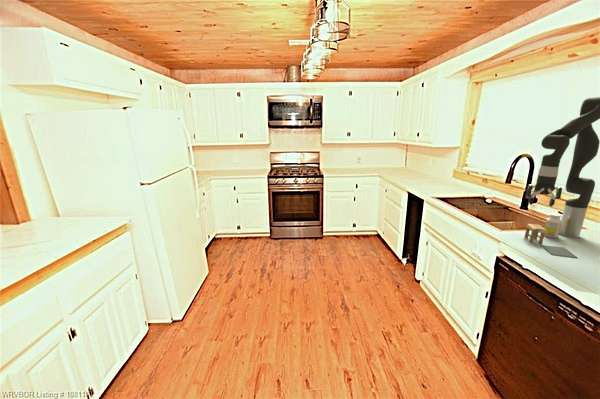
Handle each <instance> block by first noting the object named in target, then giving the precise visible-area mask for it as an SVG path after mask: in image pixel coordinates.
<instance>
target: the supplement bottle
mask: <svg viewBox="0 0 600 399" xmlns="http://www.w3.org/2000/svg"><path fill="white" fill-rule="evenodd" d="M561 218H562V215H561V214H558V213H551V212H550V213H549V217H547V218H546V219H545V224H544V227H543V228H544V229H545V235H544V237H547V238H552V239H556V238H559V235H560V234H559V231H560V227H561V223H562V221H561Z"/></svg>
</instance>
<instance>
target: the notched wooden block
mask: <svg viewBox="0 0 600 399" xmlns="http://www.w3.org/2000/svg"><path fill="white" fill-rule="evenodd" d="M544 228H545V227H543V226H542V225H541V224H534V223H527V224H526V228H525V233H524V239H528V238H529V243H532V244H533V243H534V240H538V239H539V240H538V244H541V245H543V243H544V238H545V236H544V235H545V229H544ZM530 232H531V233H530ZM539 233H540V235H539Z"/></svg>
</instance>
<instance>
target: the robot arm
mask: <svg viewBox="0 0 600 399" xmlns="http://www.w3.org/2000/svg"><path fill="white" fill-rule="evenodd" d="M599 120H600V96H596V97H595V96H593V97H587V98H585V99H584V100H582V103H581V105H580V110H579V116H577V117H575V118H573V119H570V120H569V121H567V122H565V124H564V125H562V126H561V127H560V128H559V129H556V130H554V131H552V132H550V133H548V134H547V135H545V136H544V137H543V139H542V140H541V144H540V145H541V147H542V148H543V149H546V150H554V151H553V152H552V153H547V154H544V155H543V156H542V158H541V165H540V167H539V170H538V173H537V177H536V178H537V179H536V183H535V185H532V184H528V185H527V188H526V192H525V196H527V197H528V198H529V199H528V204H529V205H531V206H533V204H534V199H535V197H536V196H538V195H547V196H549V197H550V199H549V202H548V203H549V204H548V206H549V207H553V206H554V205H555V202H556V200H560V199H561V197H562V193H563V192H562V191H563V188H562V187H561V186H556V182H557V178H558V175H559V168H560V164H561V159H562V158H563V156H564V154H565V152H566V150H567V149H568V148H569V145H570V142H571V141H570V140H571V139H573V138H574V137H576V141H575V144H574V149H573V156H572V162H571V166H570V169H569V172H568V176H567V179H566V182H565V191H566V192H567V193H569V194H575V195H579V196H578V197H577V198H570V199H566V200H565V203H564V207H563V212H562V215H561V217H560V220H561V221H562V223H561V227H560V231H559V235H561V236H563V237H567V238H580V235H581V232H582V229H583V225H584V221H585V217H586V215H587V210H588V207H589V204H590V202H591V198H592V196H593V193H594V190H595V187H596V182H595V180H594V179H592V178H586V177H580V175H581V173H582V170H583V168H584V167H586V166H587V165H588V164H589V163H590V162H591V161H593V160H594V159H595V157H596V156H597V155H598V152H599V148H600V138H599V136H598V135H597V133H596V131H595V130H594V128H593V123H595V122H596V121H599ZM576 135H577V136H576ZM532 190H533V192H532ZM553 191H555V195H554V193H553Z"/></svg>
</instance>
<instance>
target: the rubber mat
mask: <svg viewBox="0 0 600 399" xmlns="http://www.w3.org/2000/svg"><path fill="white" fill-rule="evenodd" d="M540 247H542V248H543V249H544V250H545V251H547V252H548V253H549V254H550V255H551V256H557V257H567V258H575V259H578V256H577V255H575V254H574V253H572V251H570V250H569V249H567V248H566V247H562V246H557V245H556V246H553V245H547V244H546V245H545V244H541V245H540Z"/></svg>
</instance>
